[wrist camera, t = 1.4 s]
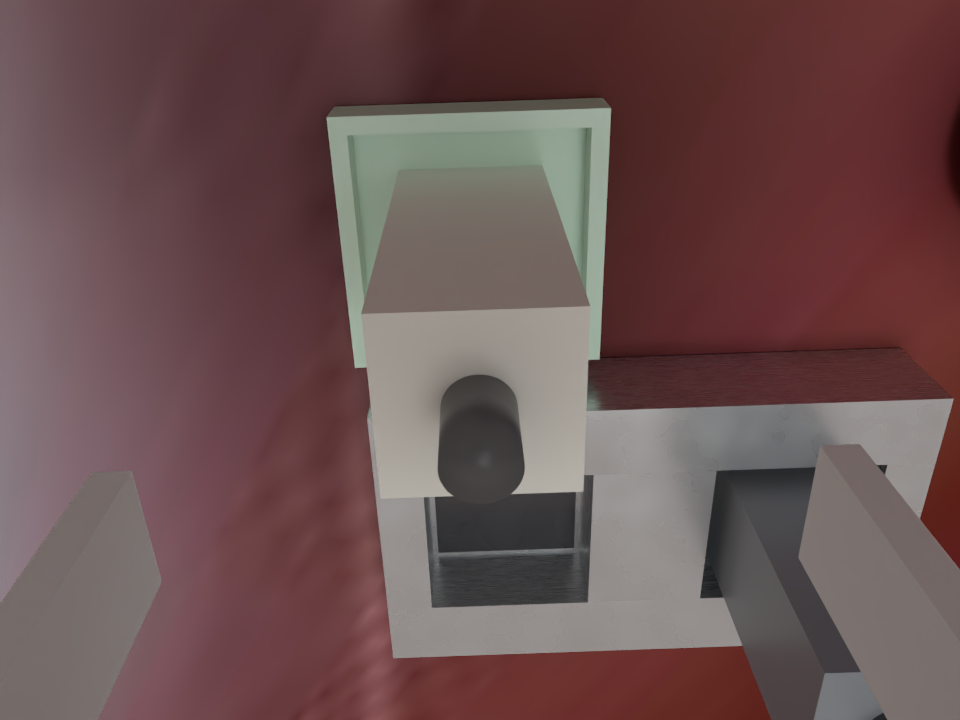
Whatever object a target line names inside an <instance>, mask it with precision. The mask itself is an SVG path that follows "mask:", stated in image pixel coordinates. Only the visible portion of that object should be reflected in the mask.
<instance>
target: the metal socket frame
mask: <svg viewBox="0 0 960 720" xmlns="http://www.w3.org/2000/svg"><path fill="white" fill-rule="evenodd" d="M953 400H954V398H953V397H952V396H951V395H949V394H948V393H947V392H946V391H945V390H944V389H943V388H942V387H941V386H940V385H939V384H938V383H937V382H936V381H935V380H934V379H933V378H932V377H931V376H930V375H929V374H928V373H926V372H925V371H924V370H923V369H922V368H921V367H920V366H919V365H918V364H917V363H916V362H915V361H914V360H913V359H912V358H911V357H910V356H909V355H908V354H907V353H906V352H904V351H903V350H902V349H901V348H882V349H852V350H823V351H794V352H764V353H735V354H706V355H676V356H647V357H617V358H600V360H588V383H587V409H586V435H585V461H584V487H583V492H559V493H530V494H510V495H509V496H507V497H506V498H504V499H502V500H499V501H496V502H493V503H487V504H474V503H469V502H465V501H462V500H460V499H458V498H456V497H454V496H443V497H415V498H386V499H381V497H380V488H379V479H378V469H377V460H376V450H375V441H374V432H373V422H372V413H371V403H370V407H369V412H368V417H367V422H368V431H369V440H370V449H371V458H372V468H373V477H374V486H375V495H376V504H377V513H378V522H379V531H380V540H381V550H382V559H383V568H384V577H385V586H386V595H387V604H388V613H389V623H390V632H391V641H392V650H393V658H410V657H438V656H467V655H495V654H523V653H551V652H580V651H608V650H636V649H664V648H693V647H721V646H742V643H741V641H740V638H739V635H738V633H737V630H736V628H735V625H734V623H733V620H732V618H731V615H730V612H729V610H728V607H727V605H726V602H725V600H724V597H723V595H722V592H721V589H720V587H719V584H718V582H717V579H716V577H715V574H714V572H713V569H712V566H711V564H710V561H709V559H708V556H707V554H706V548H707V541H708V533H709V525H710V518H711V510H712V503H713V495H714V487H715V480H716V472H717V471H722V470H750V469H779V468H808V467H816V463H817V458H818V453H819V448H820V445H847V444H860V445H861V446H862V447H863V449H864V450H865V451H866V452H867V454H868V455H869V456H870V457H871V459H872V460H873V461H874V462H875V464H876V465H877V466H878V467H879V469H880V470H881V471H882V472H883V474H884V475H885V476H886V477H887V479H888V480H889V481H890V483H891V484H892V485H893V486H894V488H895V489H896V490H897V491H898V493H899V494H900V495H901V496H902V498H903V499H904V500H905V501H906V503H907V504H908V505H909V506H910V508H911V509H912V510H913V511H914V513H915V514H916V515H917V517H918V518H919V519H920V516H921V513H922V509H923V506H924V502H925V499H926V495H927V492H928V488H929V484H930V481H931V477H932V474H933V470H934V467H935V463H936V460H937V456H938V453H939V449H940V446H941V442H942V439H943V435H944V432H945V428H946V424H947V421H948V417H949V414H950V410H951V407H952V403H953Z"/></svg>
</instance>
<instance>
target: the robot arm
mask: <svg viewBox="0 0 960 720" xmlns="http://www.w3.org/2000/svg"><path fill="white" fill-rule="evenodd" d="M798 558H799V560H800V562H801V563H802V565H803V567H804V569H805V571H806V573H807V574H808V576H809V578H810V580H811V582H812V583H813V585H814V587H815V589H816V591H817V593H818V594H819V596H820V598H821V600H822V602H823V604H824V605H825V607H826V609H827V611H828V613H829V614H830V616H831V618H832V620H833V622H834V624H835V625H836V627H837V629H838V631H839V633H840V634H841V636H842V638H843V640H844V642H845V644H846V645H847V647H848V649H849V651H850V653H851V655H852V656H853V658H854V660H855V662H856V664H857V665H858V667H859V669H860V671H861V673H862V675H863V676H864V678H865V680H866V682H867V684H868V686H869V687H870V689H871V691H872V693H873V695H874V696H875V698H876V700H877V702H878V704H879V706H880V707H881V709H882V711H883V713H884V715H885V716H886V718H887V720H960V569H959V568H958V567H957V566H956V564H955V563H954V562H953V561H952V559H951V558H950V557H949V556H948V554H947V553H946V552H945V550H944V549H943V548H942V547H941V545H940V544H939V543H938V542H937V540H936V539H935V538H934V537H933V535H932V534H931V533H930V532H929V530H928V529H927V528H926V527H925V525H924V524H923V523H922V522H921V520H920V519H919V518H918V517H917V515H916V514H915V513H914V511H913V510H912V509H911V508H910V506H909V505H908V504H907V503H906V501H905V500H904V499H903V498H902V496H901V495H900V494H899V493H898V491H897V490H896V489H895V488H894V486H893V485H892V484H891V483H890V481H889V480H888V479H887V477H886V476H885V475H884V474H883V472H882V471H881V470H880V469H879V467H878V466H877V465H876V464H875V462H874V461H873V460H872V459H871V457H870V456H869V455H868V454H867V452H866V451H865V450H864V449H863V447H862V446H861V445H860V444H847V445H820V448H819V453H818V458H817V463H816V469H815V474H814V479H813V484H812V489H811V494H810V500H809V505H808V510H807V515H806V520H805V525H804V530H803V536H802V541H801V546H800V551H799V556H798ZM161 582H162V580H161V577H160V573H159V569H158V566H157V562H156V558H155V555H154V551H153V547H152V544H151V540H150V536H149V533H148V529H147V525H146V522H145V518H144V514H143V511H142V507H141V503H140V500H139V496H138V492H137V489H136V485H135V481H134V478H133V474H132V471H115V472H91V473H90V475H89V476H88V478H87V479H86V481H85V482H84V484H83V485H82V486H81V488H80V489H79V491H78V492H77V494H76V495H75V497H74V498H73V500H72V501H71V502H70V504H69V505H68V507H67V508H66V510H65V511H64V513H63V514H62V515H61V517H60V518H59V520H58V521H57V523H56V524H55V526H54V527H53V528H52V530H51V531H50V533H49V534H48V536H47V537H46V539H45V540H44V541H43V543H42V544H41V546H40V547H39V549H38V550H37V552H36V553H35V555H34V556H33V557H32V559H31V560H30V562H29V563H28V565H27V566H26V568H25V569H24V570H23V572H22V573H21V575H20V576H19V578H18V579H17V581H16V582H15V583H14V585H13V586H12V588H11V589H10V591H9V592H8V594H7V595H6V596H5V598H4V599H3V601H2V602H1V604H0V720H98V718H99V716H100V714H101V712H102V710H103V708H104V705H105V703H106V701H107V699H108V697H109V695H110V692H111V690H112V688H113V686H114V684H115V682H116V680H117V677H118V675H119V673H120V671H121V669H122V667H123V664H124V662H125V660H126V658H127V656H128V654H129V651H130V649H131V647H132V645H133V643H134V641H135V639H136V636H137V634H138V632H139V630H140V628H141V626H142V623H143V621H144V619H145V617H146V615H147V613H148V610H149V608H150V606H151V604H152V602H153V600H154V598H155V595H156V593H157V591H158V589H159V587H160V585H161Z"/></svg>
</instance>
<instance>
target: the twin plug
mask: <svg viewBox="0 0 960 720" xmlns="http://www.w3.org/2000/svg"><path fill="white" fill-rule="evenodd" d="M815 469H816V467H808V468H779V469H750V470H722V471H717V472H716V480H715V487H714V495H713V503H712V510H711V518H710V525H709V533H708V541H707V548H706V554H707V556H708V559H709V561H710V564H711V566H712V569H713V572H714V574H715V577H716V579H717V582H718V584H719V587H720V589H721V592H722V595H723V597H724V600H725V602H726V605H727V607H728V610H729V612H730V615H731V618H732V620H733V623H734V625H735V628H736V630H737V633H738V635H739V638H740V641H741V643H742V646H743V648H744V651H745V653H746V656H747V658H748V661H749V664H750V666H751V669H752V671H753V674H754V676H755V679H756V681H757V684H758V687H759V689H760V692H761V694H762V697H763V699H764V702H765V704H766V707H767V710H768V712H769V715H770V717H771V720H887V718H886V716H885V715H884V713H883V711H882V709H881V707H880V706H879V704H878V702H877V700H876V698H875V696H874V695H873V693H872V691H871V689H870V687H869V686H868V684H867V682H866V680H865V678H864V676H863V675H862V673H861V671H860V669H859V667H858V665H857V664H856V662H855V660H854V658H853V656H852V655H851V653H850V651H849V649H848V647H847V645H846V644H845V642H844V640H843V638H842V636H841V634H840V633H839V631H838V629H837V627H836V625H835V624H834V622H833V620H832V618H831V616H830V614H829V613H828V611H827V609H826V607H825V605H824V604H823V602H822V600H821V598H820V596H819V594H818V593H817V591H816V589H815V587H814V585H813V583H812V582H811V580H810V578H809V576H808V574H807V573H806V571H805V569H804V567H803V565H802V563H801V562H800V560H799V558H798V556H799V551H800V546H801V541H802V536H803V530H804V525H805V520H806V515H807V510H808V505H809V500H810V494H811V489H812V484H813V479H814V474H815Z"/></svg>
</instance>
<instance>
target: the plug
mask: <svg viewBox="0 0 960 720" xmlns="http://www.w3.org/2000/svg"><path fill="white" fill-rule="evenodd" d="M361 319H362V328H363V337H364V347H365V356H366V366H367V375H368V384H369V394H370V403H371V413H372V422H373V432H374V441H375V450H376V460H377V469H378V479H379V488H380V497H381V499H386V498H415V497H443V496H454V497H456V498H458V499H460V500H462V501H465V502H469V503H474V504H487V503H493V502H496V501H499V500H502V499H504V498H506V497H507V496H509V495H510V494H530V493H559V492H583V487H584V461H585V435H586V409H587V383H588V357H589V331H590V304H589V301H588V298H587V295H586V292H585V289H584V286H583V283H582V280H581V277H580V274H579V271H578V268H577V265H576V262H575V259H574V256H573V254H572V251H571V248H570V245H569V242H568V239H567V236H566V233H565V230H564V227H563V224H562V221H561V218H560V215H559V212H558V209H557V206H556V204H555V201H554V198H553V195H552V192H551V189H550V186H549V183H548V180H547V177H546V174H545V171H544V168H543V165H536V166H505V167H475V168H445V169H415V170H399V172H398V175H397V179H396V183H395V187H394V191H393V194H392V198H391V202H390V206H389V210H388V213H387V217H386V221H385V225H384V229H383V232H382V236H381V240H380V244H379V248H378V251H377V255H376V259H375V263H374V267H373V270H372V274H371V278H370V282H369V286H368V289H367V293H366V297H365V301H364V305H363V308H362V312H361Z"/></svg>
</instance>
